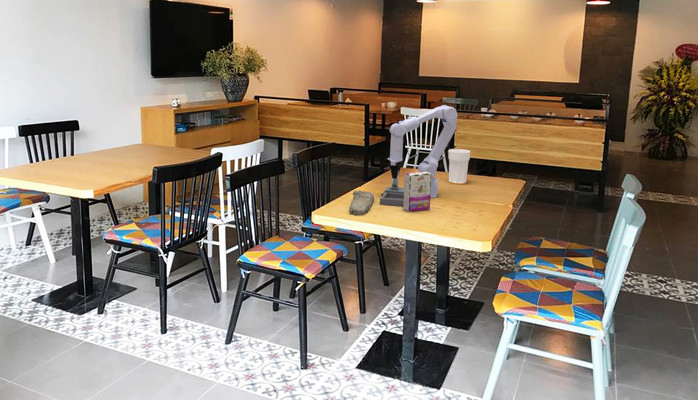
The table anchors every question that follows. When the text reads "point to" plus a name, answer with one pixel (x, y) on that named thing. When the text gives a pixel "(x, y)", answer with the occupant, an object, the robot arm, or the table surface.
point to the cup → (458, 165)
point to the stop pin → (395, 182)
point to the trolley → (393, 190)
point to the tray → (392, 199)
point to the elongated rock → (361, 202)
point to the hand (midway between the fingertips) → (395, 177)
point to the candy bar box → (417, 191)
